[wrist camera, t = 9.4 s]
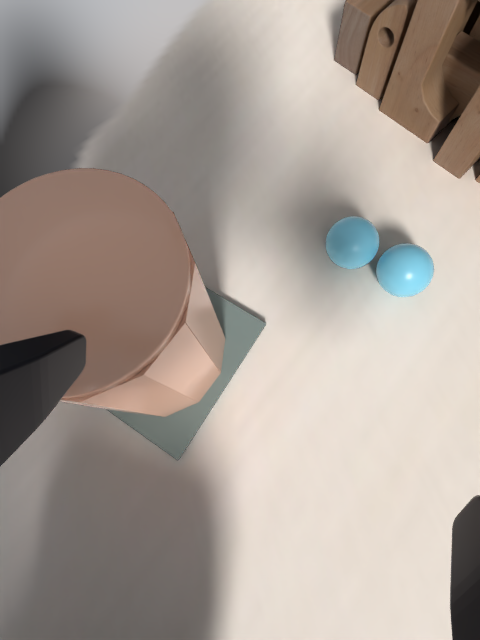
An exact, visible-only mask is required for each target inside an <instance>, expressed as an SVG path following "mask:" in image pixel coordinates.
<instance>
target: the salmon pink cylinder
mask: <svg viewBox="0 0 480 640" xmlns="http://www.w3.org/2000/svg"><path fill="white" fill-rule="evenodd" d="M63 330H73V331H75V332H78V333H80V334H83V335H84V336H85V337H86V364H85V367H84V369H83V371H82V373H81V374H80V375H79V377H78V378H77V379H76V380H75V382H74V383H73V384H72V386H71V387H70V388H69V389H68V391H67V392H66V393H65V395H64V396H63V397H62V398H61V400H60V402H66V403H72V404H79V405H85V406H91V407H98V408H104V409H110V410H116V411H123V412H129V413H137V414H145V415H153V416H161V417H166V416H169V415H171V414H173V413H175V412H178V411H180V410H182V409H185V408H187V407H189V406H191V405H194V404H196V403H198V402H199V401H200V400H201V399H202V397H203V396H204V395H205V393H206V392H207V391H208V389H209V388H210V387H211V385H212V384H213V383H214V382H215V380H216V379H217V378H218V376H219V375H220V374H221V369H222V361H223V354H224V346H225V336H224V334H223V331H222V329H221V326H220V324H219V321H218V319H217V316H216V314H215V311H214V309H213V306H212V304H211V301H210V299H209V296H208V293H207V291H206V288H205V286H204V283H203V281H202V278H201V276H200V273H199V271H198V268H197V266H196V263H195V261H194V259H193V256H192V254H191V252H190V249H189V247H188V245H187V243H186V240H185V238H184V235H183V233H182V230H181V228H180V226H179V224H178V222H177V219H176V217H175V215H174V213H173V212H172V211H171V210H170V209H169V207H168V206H167V205H166V203H165V202H164V201H163V200H162V199H161V198H160V197H159V196H158V195H157V194H156V193H155V192H153V191H152V190H151V189H149V188H148V187H147V186H145V185H144V184H142V183H140V182H138V181H137V180H135V179H133V178H130V177H128V176H125V175H123V174H120V173H116V172H112V171H108V170H101V169H94V168H77V169H68V170H62V171H57V172H52V173H48V174H46V175H42V176H39V177H36V178H34V179H32V180H30V181H27V182H25V183H23V184H21V185H19V186H18V187H16V188H14V189H13V190H11V191H9V192H8V193H7V194H5V195H4V196H2V197H1V198H0V345H2V344H6V343H11V342H15V341H20V340H24V339H28V338H33V337H37V336H41V335H46V334H50V333H55V332H59V331H63Z"/></svg>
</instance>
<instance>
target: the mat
mask: <svg viewBox="0 0 480 640" xmlns="http://www.w3.org/2000/svg"><path fill="white" fill-rule="evenodd" d="M205 288H206V287H205ZM206 291H207V293H208V296H209V299H210V301H211V304H212V306H213V309H214V311H215V314H216V316H217V319H218V321H219V324H220V326H221V329H222V331H223V334H224V336H225V346H224V354H223V361H222V369H221V374H220V375H219V376H218V378H217V379H216V380H215V382H214V383H213V384H212V385H211V387H210V388H209V389H208V391H207V392H206V393H205V395H204V396H203V397H202V399H201V400H200V401H199V402H198V403H196V404H194V405H191V406H189V407H187V408H185V409H182V410H180V411H178V412H175V413H173V414H171V415H169V416H166V417H161V416H153V415H145V414H137V413H129V412H123V411H116V410H110V409H106V410H108V411H109V412H111V413H112V414H113V415H115V416H116V417H118V418H119V419H120V420H122V421H123V422H125V423H126V424H127V425H129V426H130V427H132V428H133V429H134V430H136V431H137V432H139V433H140V434H141V435H143V436H144V437H146V438H147V439H148V440H150V441H151V442H153V443H154V444H155V445H157V446H158V447H159V448H161V449H162V450H164V451H165V452H166V453H168V454H169V455H171V456H172V457H173V458H175V459H176V460H179V459H180V457H181V456H182V454H183V453H184V451H185V450H186V448H187V446H188V445H189V443H190V442H191V440H192V439H193V437H194V436H195V434H196V433H197V431H198V429H199V428H200V426H201V425H202V423H203V422H204V420H205V419H206V417H207V415H208V414H209V412H210V411H211V409H212V408H213V406H214V405H215V403H216V402H217V400H218V398H219V397H220V395H221V394H222V392H223V391H224V389H225V388H226V386H227V384H228V383H229V381H230V380H231V378H232V377H233V375H234V374H235V372H236V370H237V369H238V367H239V366H240V364H241V363H242V361H243V360H244V358H245V357H246V355H247V353H248V352H249V350H250V349H251V347H252V346H253V344H254V343H255V341H256V339H257V338H258V336H259V335H260V333H261V332H262V330H263V329H264V327H265V326H266V323H264V322H263V321H261V320H259V319H258V318H256V317H254V316H253V315H251V314H249V313H248V312H246V311H244V310H243V309H241V308H239V307H238V306H236V305H234V304H233V303H231V302H229V301H228V300H226V299H224V298H223V297H221V296H219V295H218V294H216V293H214V292H213V291H211V290H209V289H208V288H206Z"/></svg>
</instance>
